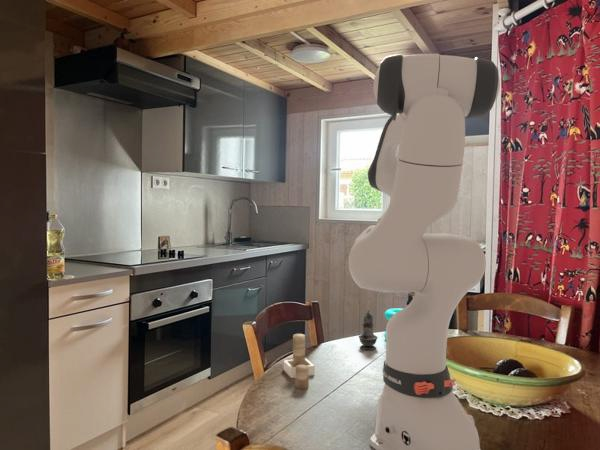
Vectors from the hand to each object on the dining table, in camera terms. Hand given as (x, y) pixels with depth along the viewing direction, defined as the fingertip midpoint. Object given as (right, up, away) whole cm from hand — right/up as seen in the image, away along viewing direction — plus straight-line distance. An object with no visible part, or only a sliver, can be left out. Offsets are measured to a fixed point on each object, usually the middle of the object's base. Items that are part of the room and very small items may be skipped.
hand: (362, 261), depth 120 cm
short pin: (-16, -30, -11) cm, 36 cm away
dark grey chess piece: (+5, -29, +20) cm, 35 cm away
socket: (-17, -29, -1) cm, 34 cm away
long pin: (-17, -29, -2) cm, 34 cm away
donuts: (+16, -29, +28) cm, 43 cm away
